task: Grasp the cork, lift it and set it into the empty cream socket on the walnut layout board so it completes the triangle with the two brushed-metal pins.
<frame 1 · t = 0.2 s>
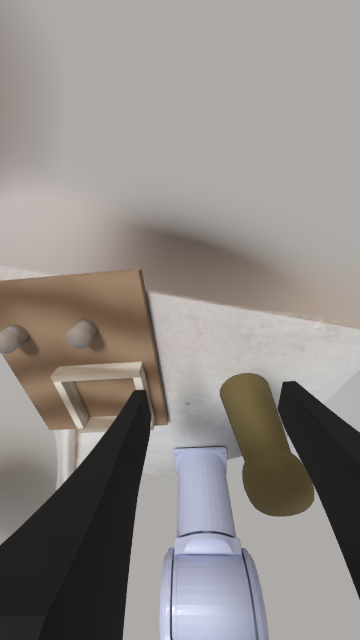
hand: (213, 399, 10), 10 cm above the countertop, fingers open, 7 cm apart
layout board: (88, 362, 22), on the countertop
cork: (243, 390, 24), on the countertop
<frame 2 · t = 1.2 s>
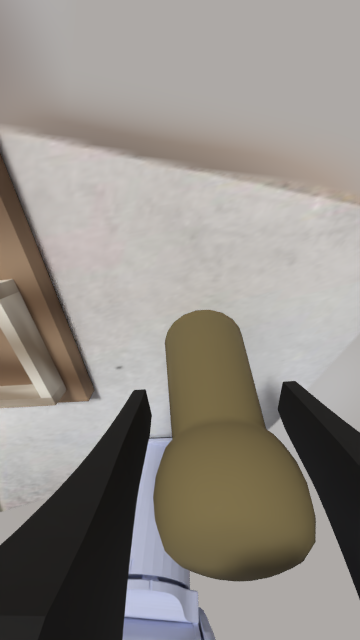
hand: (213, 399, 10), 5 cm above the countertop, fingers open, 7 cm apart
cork: (203, 343, 15), on the countertop
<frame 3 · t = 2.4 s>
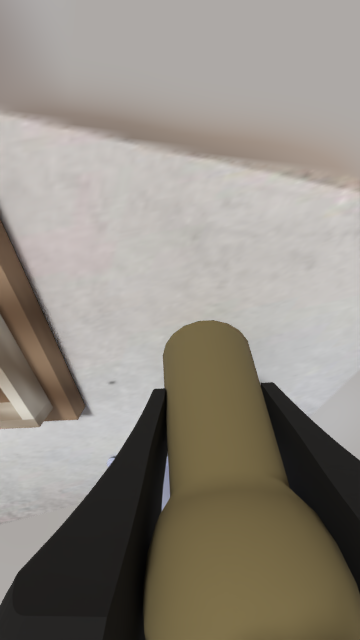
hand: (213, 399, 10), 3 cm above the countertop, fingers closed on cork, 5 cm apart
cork: (206, 357, 14), on the countertop, touching gripper
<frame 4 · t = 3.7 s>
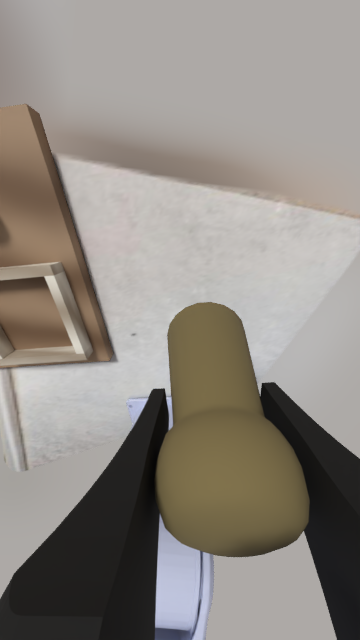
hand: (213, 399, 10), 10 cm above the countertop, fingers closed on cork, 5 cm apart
layout board: (2, 272, 18), on the countertop
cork: (205, 336, 15), point 4 cm above the countertop, touching gripper
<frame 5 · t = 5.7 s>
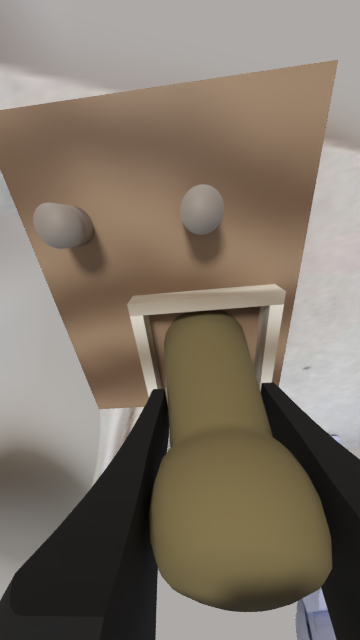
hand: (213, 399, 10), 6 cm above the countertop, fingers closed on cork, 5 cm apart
layout board: (173, 295, 14), on the countertop
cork: (204, 343, 15), point 1 cm above the countertop, touching gripper, layout board
when the fingers open (6 cm above the countertop, at t = 6.5 s): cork stays where it is, resting on layout board.
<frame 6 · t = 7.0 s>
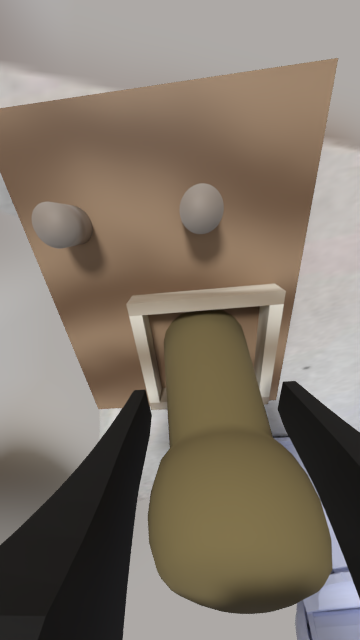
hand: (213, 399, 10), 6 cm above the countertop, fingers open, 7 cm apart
layout board: (173, 294, 14), on the countertop
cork: (203, 343, 15), point 1 cm above the countertop, touching layout board
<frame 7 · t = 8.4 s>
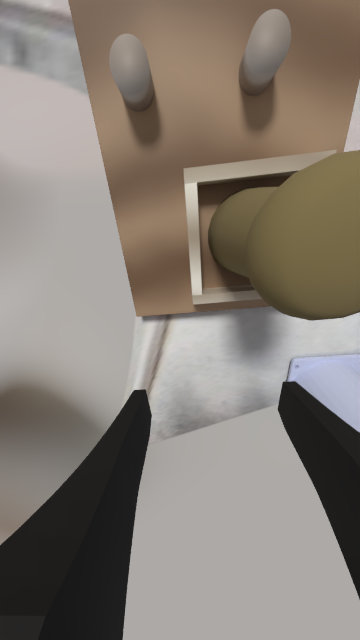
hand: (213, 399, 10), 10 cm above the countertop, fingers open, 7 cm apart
layout board: (218, 183, 15), on the countertop
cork: (245, 233, 15), point 1 cm above the countertop, touching layout board
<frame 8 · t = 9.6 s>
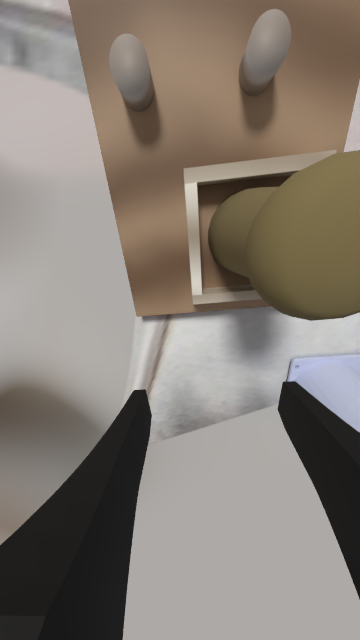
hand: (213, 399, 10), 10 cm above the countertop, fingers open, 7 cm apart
layout board: (218, 183, 15), on the countertop
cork: (245, 233, 15), point 1 cm above the countertop, touching layout board
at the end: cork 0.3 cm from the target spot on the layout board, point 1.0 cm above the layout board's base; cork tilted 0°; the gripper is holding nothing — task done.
